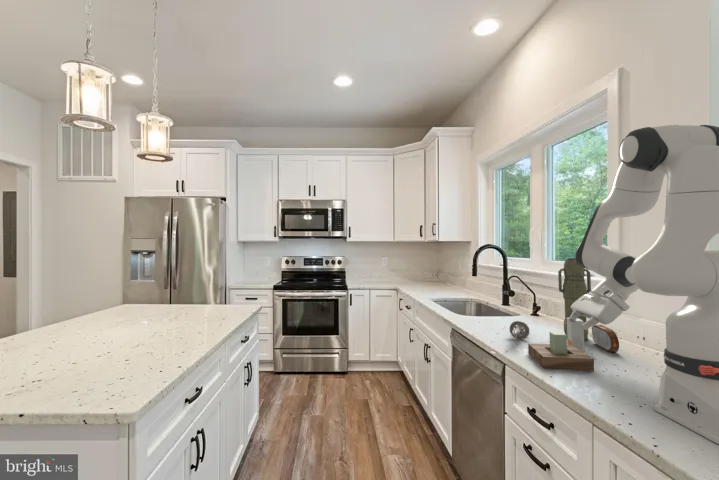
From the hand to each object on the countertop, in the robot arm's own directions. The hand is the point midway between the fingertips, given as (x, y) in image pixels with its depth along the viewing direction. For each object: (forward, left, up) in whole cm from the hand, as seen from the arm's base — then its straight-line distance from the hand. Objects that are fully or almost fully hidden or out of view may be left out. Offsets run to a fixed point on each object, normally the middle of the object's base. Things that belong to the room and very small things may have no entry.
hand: (576, 324), depth 112 cm
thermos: (+33, -14, -13) cm, 39 cm away
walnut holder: (0, +6, -13) cm, 14 cm away
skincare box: (+15, -6, -13) cm, 21 cm away
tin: (+19, -18, -13) cm, 30 cm away
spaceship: (+29, +10, -13) cm, 33 cm away
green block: (0, +6, -12) cm, 13 cm away
